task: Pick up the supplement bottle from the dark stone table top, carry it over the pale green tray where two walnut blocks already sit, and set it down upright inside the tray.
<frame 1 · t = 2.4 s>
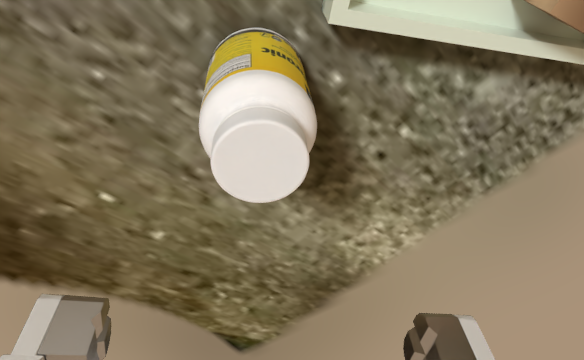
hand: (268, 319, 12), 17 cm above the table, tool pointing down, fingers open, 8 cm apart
supplement bottle: (256, 70, 26), on the table
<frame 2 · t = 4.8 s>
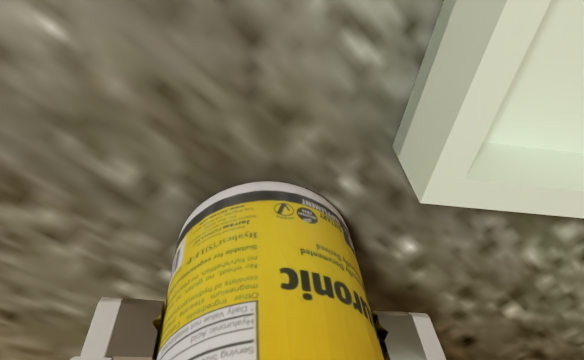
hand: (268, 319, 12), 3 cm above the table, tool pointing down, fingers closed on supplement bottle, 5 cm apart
supplement bottle: (265, 238, 14), on the table, touching gripper
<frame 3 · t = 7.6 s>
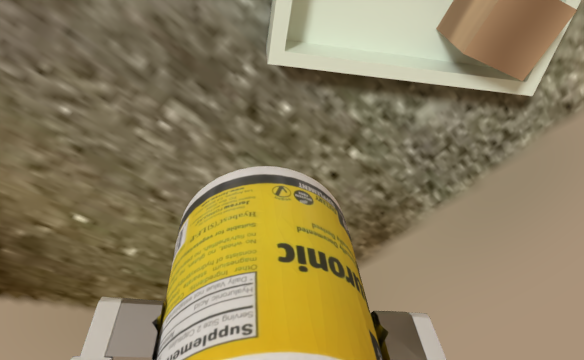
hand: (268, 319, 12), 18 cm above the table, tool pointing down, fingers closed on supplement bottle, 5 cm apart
walnut block B: (484, 9, 26), point 1 cm above the table, touching tray
supplement bottle: (263, 222, 15), point 15 cm above the table, touching gripper
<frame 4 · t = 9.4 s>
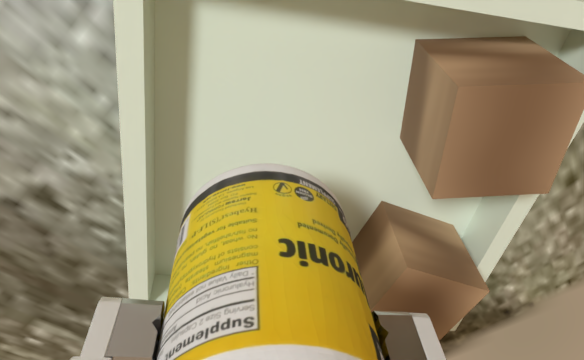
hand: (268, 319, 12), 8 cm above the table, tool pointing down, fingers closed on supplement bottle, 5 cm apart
walnut block A: (458, 90, 17), point 1 cm above the table, touching tray
walnut block B: (395, 242, 22), point 1 cm above the table, touching tray
tray: (331, 158, 19), on the table
supplement bottle: (264, 219, 15), point 4 cm above the table, touching gripper
when the fingers open (5 cm above the table, at t = 10.6 s): supplement bottle stays where it is, resting on tray.
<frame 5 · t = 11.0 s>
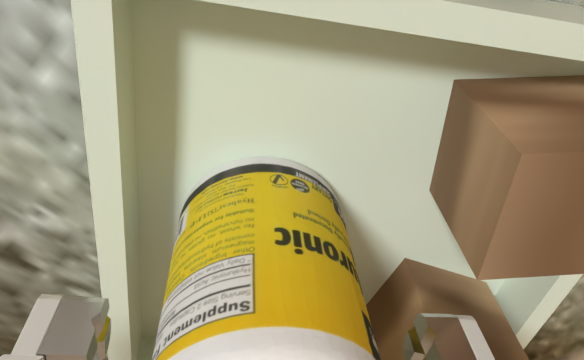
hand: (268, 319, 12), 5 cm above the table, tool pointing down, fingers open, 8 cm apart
walnut block A: (502, 136, 14), point 1 cm above the table, touching tray
walnut block B: (418, 301, 19), point 1 cm above the table, touching tray
tray: (346, 210, 16), on the table
supplement bottle: (261, 212, 16), resting on tray
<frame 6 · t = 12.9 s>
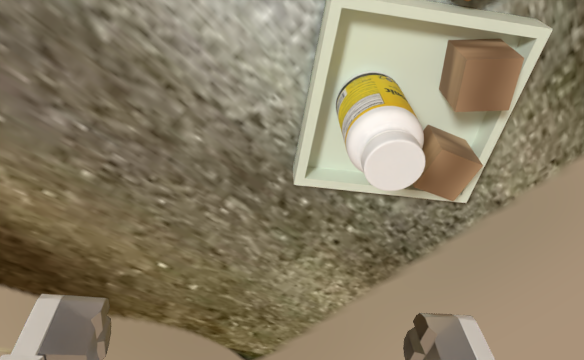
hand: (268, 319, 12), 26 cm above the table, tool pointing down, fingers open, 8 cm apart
walnut block A: (468, 64, 35), point 1 cm above the table, touching tray
walnut block B: (433, 150, 40), point 1 cm above the table, touching tray
tray: (402, 100, 37), on the table
supplement bottle: (367, 98, 37), resting on tray
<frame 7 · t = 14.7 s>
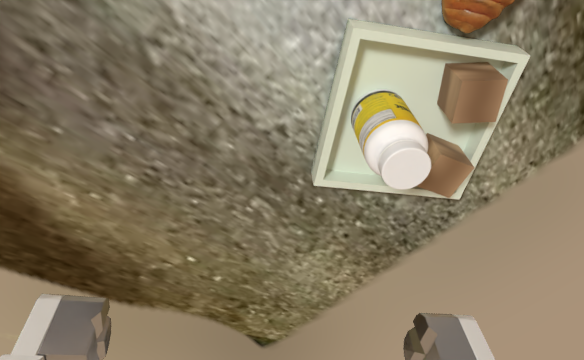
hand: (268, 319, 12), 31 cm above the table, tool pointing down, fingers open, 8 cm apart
walnut block A: (461, 83, 42), point 1 cm above the table, touching tray
walnut block B: (431, 154, 47), point 1 cm above the table, touching tray
tray: (406, 113, 44), on the table
supplement bottle: (376, 111, 43), resting on tray
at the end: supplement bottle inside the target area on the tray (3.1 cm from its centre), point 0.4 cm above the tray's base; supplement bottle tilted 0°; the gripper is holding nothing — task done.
